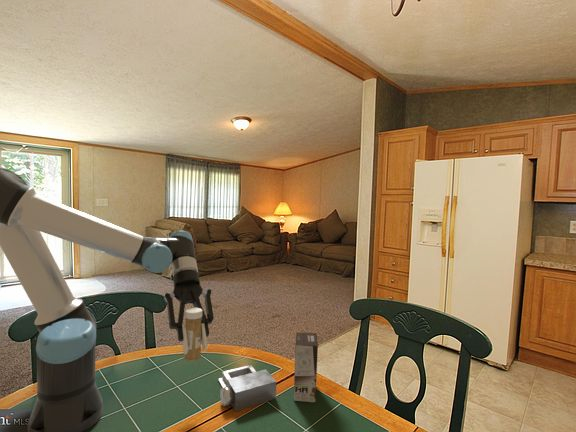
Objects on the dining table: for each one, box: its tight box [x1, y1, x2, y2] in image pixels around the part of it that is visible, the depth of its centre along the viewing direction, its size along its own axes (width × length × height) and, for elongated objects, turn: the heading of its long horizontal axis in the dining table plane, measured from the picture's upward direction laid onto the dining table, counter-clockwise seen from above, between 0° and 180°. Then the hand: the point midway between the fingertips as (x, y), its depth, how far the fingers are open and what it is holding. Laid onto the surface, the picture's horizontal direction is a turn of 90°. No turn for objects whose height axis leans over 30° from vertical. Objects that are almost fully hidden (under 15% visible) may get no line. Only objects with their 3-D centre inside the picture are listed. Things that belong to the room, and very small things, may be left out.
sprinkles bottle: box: [183, 307, 202, 362], centre depth 86 cm, size 5×5×13 cm
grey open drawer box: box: [217, 364, 277, 412], centre depth 91 cm, size 14×16×5 cm
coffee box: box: [293, 331, 319, 403], centre depth 91 cm, size 9×6×16 cm
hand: (195, 350), depth 82 cm, fingers closed on sprinkles bottle, 4 cm apart
